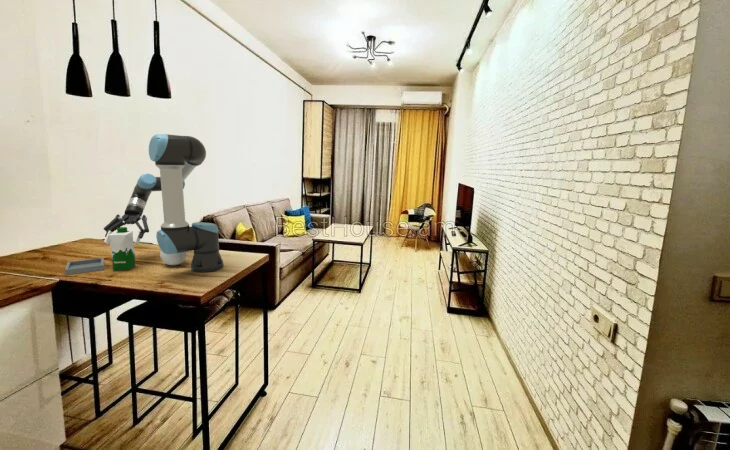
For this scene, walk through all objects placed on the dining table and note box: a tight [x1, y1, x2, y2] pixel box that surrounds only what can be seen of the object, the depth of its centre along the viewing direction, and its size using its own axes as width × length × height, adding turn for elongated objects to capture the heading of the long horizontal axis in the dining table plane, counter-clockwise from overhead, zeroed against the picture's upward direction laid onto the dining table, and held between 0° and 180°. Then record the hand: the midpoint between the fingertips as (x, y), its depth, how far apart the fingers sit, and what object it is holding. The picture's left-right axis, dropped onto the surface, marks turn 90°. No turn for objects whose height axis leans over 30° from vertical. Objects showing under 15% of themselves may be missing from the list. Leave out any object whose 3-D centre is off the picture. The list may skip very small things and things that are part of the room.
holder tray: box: [64, 257, 105, 276], centre depth 164 cm, size 14×14×2 cm
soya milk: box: [108, 226, 136, 272], centre depth 164 cm, size 9×9×20 cm
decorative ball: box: [159, 249, 188, 266], centre depth 173 cm, size 12×12×12 cm
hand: (121, 243), depth 164 cm, fingers open, 13 cm apart
